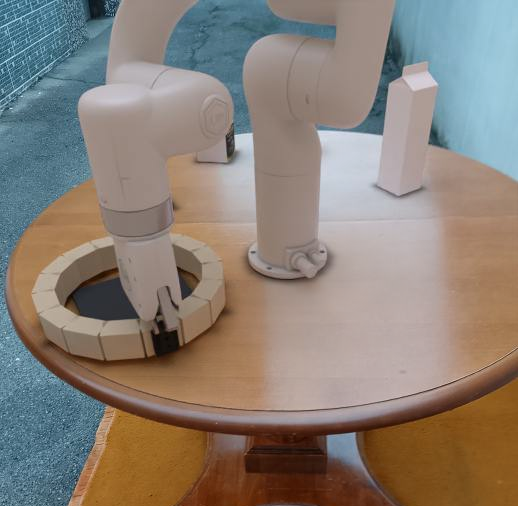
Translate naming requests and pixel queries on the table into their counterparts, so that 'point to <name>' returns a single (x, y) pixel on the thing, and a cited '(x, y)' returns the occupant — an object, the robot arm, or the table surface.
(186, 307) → the hoop
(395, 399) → the table surface
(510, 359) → the table surface
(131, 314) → the mat
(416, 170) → the milk
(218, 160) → the medicine bottle
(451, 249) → the table surface
